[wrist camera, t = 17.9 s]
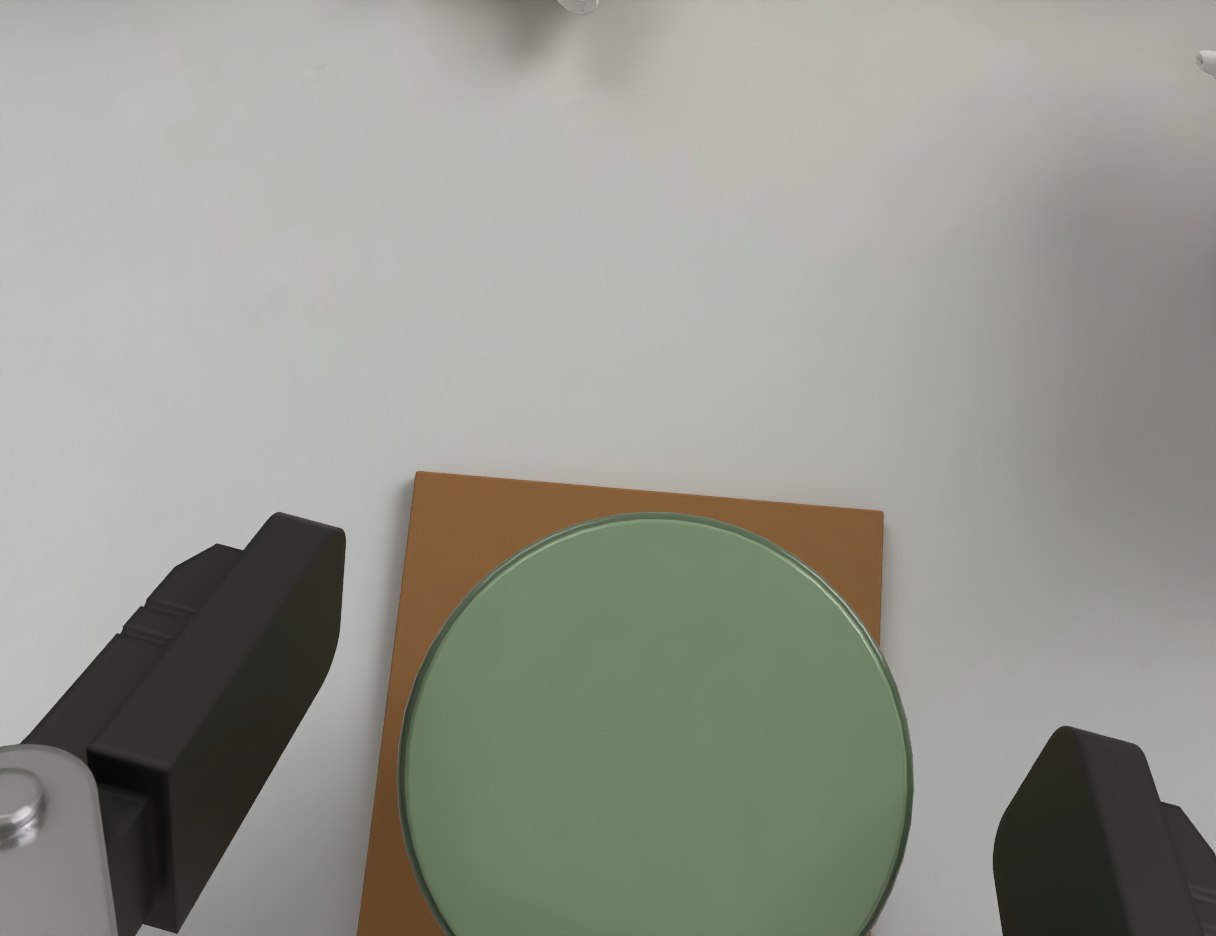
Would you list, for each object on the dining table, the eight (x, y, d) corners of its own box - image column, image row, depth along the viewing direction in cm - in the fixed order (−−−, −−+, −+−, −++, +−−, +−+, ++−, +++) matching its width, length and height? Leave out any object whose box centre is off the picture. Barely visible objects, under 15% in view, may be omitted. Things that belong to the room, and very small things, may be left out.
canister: (780, 605, 22) (924, 530, 12) (764, 900, 21) (911, 1077, 11) (502, 580, 22) (427, 488, 12) (470, 874, 21) (360, 1029, 11)
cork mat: (879, 513, 23) (884, 510, 23) (863, 1015, 21) (868, 1020, 20) (418, 474, 23) (416, 470, 23) (355, 970, 21) (351, 974, 21)
